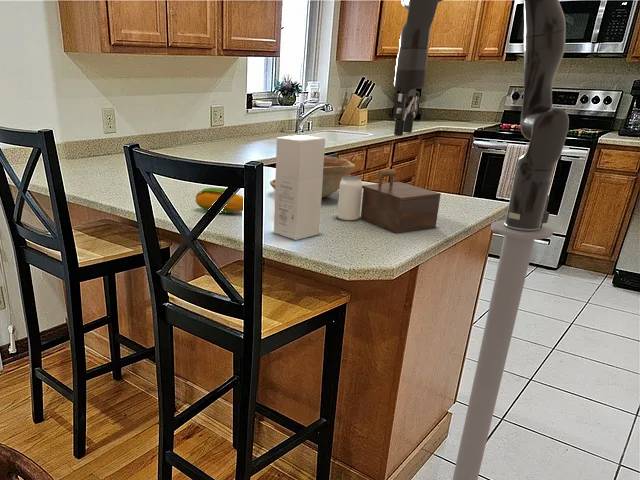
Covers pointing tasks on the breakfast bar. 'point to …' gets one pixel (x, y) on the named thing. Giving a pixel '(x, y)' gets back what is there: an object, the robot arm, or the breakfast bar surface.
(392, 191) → the chest lid
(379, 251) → the breakfast bar surface
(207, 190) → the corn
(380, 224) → the chest
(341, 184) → the can
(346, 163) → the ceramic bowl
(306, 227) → the tall white carton
